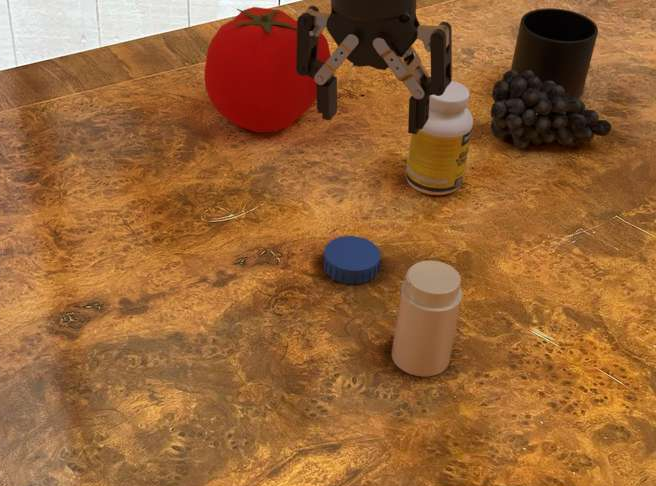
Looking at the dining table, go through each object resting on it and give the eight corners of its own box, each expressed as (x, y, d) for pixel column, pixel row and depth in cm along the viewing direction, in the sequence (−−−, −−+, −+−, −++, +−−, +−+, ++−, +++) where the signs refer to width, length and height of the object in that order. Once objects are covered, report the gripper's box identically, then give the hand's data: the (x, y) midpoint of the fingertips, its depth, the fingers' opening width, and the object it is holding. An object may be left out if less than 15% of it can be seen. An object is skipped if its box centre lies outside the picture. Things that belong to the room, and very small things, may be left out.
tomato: (219, 154, 124) (219, 47, 115) (191, 96, 134) (189, -7, 125) (345, 137, 128) (355, 31, 119) (309, 82, 138) (316, -20, 129)
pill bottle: (449, 204, 118) (465, 112, 110) (395, 186, 120) (407, 95, 112) (470, 176, 122) (487, 85, 114) (418, 159, 124) (431, 70, 117)
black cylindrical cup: (579, 67, 142) (595, 3, 136) (583, 112, 133) (600, 46, 128) (508, 59, 144) (521, -5, 138) (507, 103, 135) (520, 37, 129)
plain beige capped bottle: (440, 334, 101) (454, 255, 95) (457, 374, 97) (473, 294, 91) (384, 339, 101) (396, 259, 94) (399, 379, 97) (412, 299, 90)
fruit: (625, 71, 123) (494, 52, 125) (622, 126, 119) (486, 105, 121) (605, 120, 130) (482, 102, 132) (602, 173, 126) (474, 154, 128)
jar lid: (363, 292, 106) (365, 278, 105) (312, 272, 108) (313, 258, 107) (388, 261, 110) (390, 247, 109) (338, 242, 112) (340, 229, 111)
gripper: (280, -40, 91) (287, 130, 101) (442, -23, 86) (433, 154, 96) (313, -68, 96) (317, 95, 106) (467, -54, 91) (456, 117, 101)
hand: (372, 123), depth 101 cm, fingers open, 8 cm apart
